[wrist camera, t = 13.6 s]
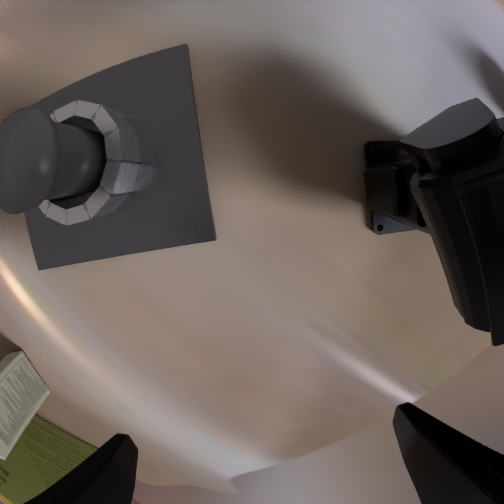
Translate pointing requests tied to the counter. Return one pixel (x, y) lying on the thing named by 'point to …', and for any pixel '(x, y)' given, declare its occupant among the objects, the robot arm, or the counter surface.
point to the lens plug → (46, 160)
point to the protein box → (39, 461)
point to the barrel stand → (130, 165)
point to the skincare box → (18, 398)
